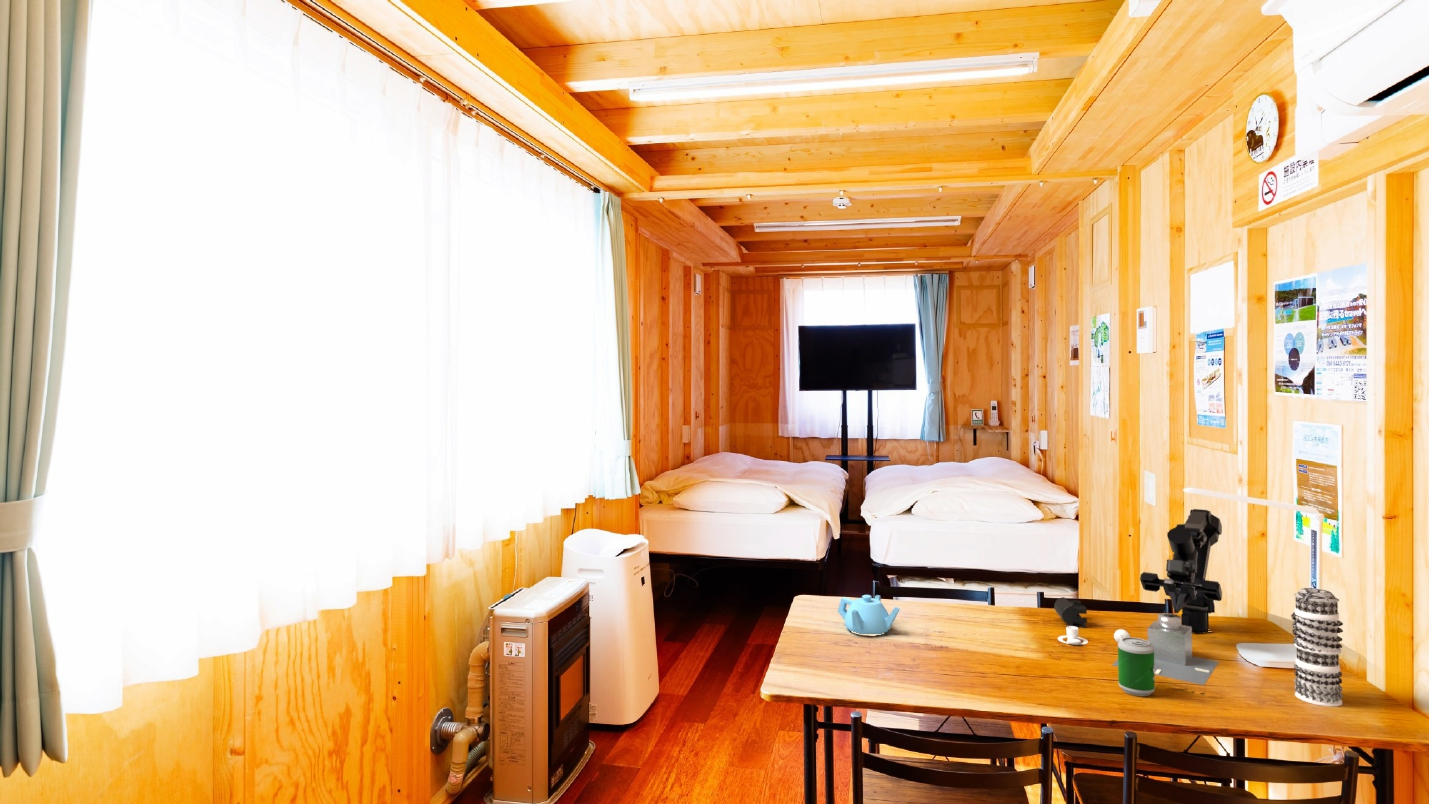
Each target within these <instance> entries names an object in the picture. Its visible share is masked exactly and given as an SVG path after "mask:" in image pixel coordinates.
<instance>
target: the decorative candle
mask: <svg viewBox="0 0 1429 804" xmlns="http://www.w3.org/2000/svg"><path fill="white" fill-rule="evenodd" d="M1293 596H1294V597H1295V607H1294V612H1292V614H1290V617H1291V619H1292V620H1293V622H1292V623H1291V626H1292V634H1293V635H1294V638H1293V639H1292V640H1293V646H1295V648H1296V656H1295V664H1294V665H1293V667H1294V669H1295V671H1294V676H1295V678H1294V679H1293V682H1294V684H1295V685H1294V686H1293V688H1294V691H1295V692H1294V696H1295V697H1296V698H1297V699H1299V700H1301V701H1303V702H1305V703H1310V704H1313V705H1317V706H1321V707H1330V708H1331V707H1333V708H1334V707H1340V706H1342V705H1343V700H1342V698H1343V693H1342V692H1343V686H1342V685H1340V684H1343V679H1342V678H1341V677H1343V673H1342V672H1341V664H1340V662H1339V661H1340V660H1339V658H1340V657H1339V655H1340V654H1342V648H1343V645H1342V643H1340V642H1342V641H1343V638H1342V637H1340V635H1338V634H1341V633H1343V632H1344V630H1343V629H1342V628H1341V627H1342V626H1343V625H1344V623H1343V621H1340V620H1339V619H1340V615H1339V614H1340V613H1339V611H1338V609H1339V606H1338V605H1339V604H1338V602H1340V599H1339V598H1337V597H1336V596H1335V594H1333V593H1332V592H1331V591H1330V590H1326V589H1323V588H1322V589H1321V588H1313V587H1305V588H1301V589H1299V591H1298V592H1297V593H1296V592H1295V593H1293Z"/></svg>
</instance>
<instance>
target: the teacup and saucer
mask: <svg viewBox="0 0 1429 804" xmlns="http://www.w3.org/2000/svg"><path fill="white" fill-rule="evenodd" d="M1065 630H1066V635H1060V636H1058V637H1057V640H1058V641H1059V642H1061V643H1063V644H1067V645H1074V646H1082V645H1083V646H1084V645H1086V644H1088V642H1089V641H1088V639H1086V638H1083V637H1081V636H1079V628H1078V627H1074V626H1069V625H1067V626H1066V628H1065ZM1064 638H1067V640H1066V641H1065V640H1064Z"/></svg>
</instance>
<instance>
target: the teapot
mask: <svg viewBox="0 0 1429 804" xmlns="http://www.w3.org/2000/svg"><path fill="white" fill-rule="evenodd" d="M872 596H873V595H870V594H864V595H861V597H859V598H856V599H854V600H853V599H851V598H848V597H846V596H843V597H841V598H840V601H839V605H838V608H837V613H838V614H839V615H840V616H841V617H842V619H843V620H844V626H845V628H846V629H847V630H848V629H849V630H850V631H853V632H856V633H859V634H882V633H885V632H886V633H888V632H889V630H890V628H891V627H892V625H893V624H894V621H895V619H896V618H897V615H898V613H899V612H900V611H901V609H900V607H896V606H894V607H893V609H892V611H891V612H890V613H888V611H887V609H886V607H885V605H884V603H882V601H881V595H878V594H876V595H874V598H872ZM847 605H848V606H849V607H848V609H847ZM849 630H848V631H849ZM850 631H849V632H850ZM886 633H885V634H886Z"/></svg>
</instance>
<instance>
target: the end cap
mask: <svg viewBox="0 0 1429 804" xmlns="http://www.w3.org/2000/svg"><path fill="white" fill-rule="evenodd" d="M1053 605H1054V606H1053V608H1054V611H1055V613H1057V615H1058V616H1059V617H1060V618H1061V619H1062V621H1063V622H1064V623H1065V624H1066V625H1067V626H1074V627H1077V628H1078V627H1082V629H1086V628H1087V625H1086V624H1087V623H1088V619H1087V617H1082V616H1081V615H1080V614H1082V615H1087V614H1088V612H1087V607H1086V606H1085V605H1084V604H1082V602H1081V601H1080V600H1078V599H1067V598H1066V597H1064V596H1063V597H1059V598H1057V599H1056V600H1055V602H1054V604H1053Z"/></svg>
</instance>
